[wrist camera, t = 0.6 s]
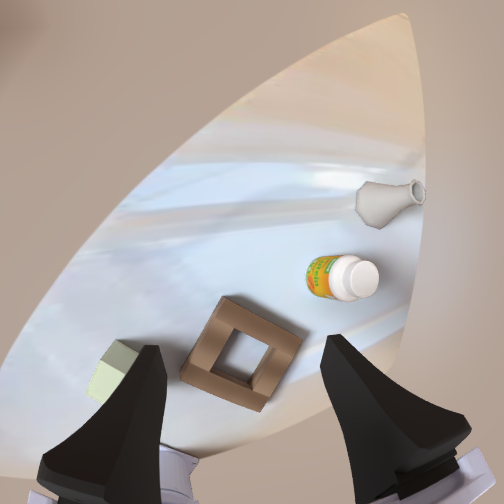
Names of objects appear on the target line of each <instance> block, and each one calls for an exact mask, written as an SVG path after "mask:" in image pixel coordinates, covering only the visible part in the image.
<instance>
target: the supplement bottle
mask: <svg viewBox="0 0 504 504" xmlns="http://www.w3.org/2000/svg"><path fill="white" fill-rule="evenodd" d="M378 283H379V274H378V270H377V268H376V266H375V265H374V264H373V263H371V262H370V261H365V260H361V259H360V258H359V257H357V256H353V255H341V256H325V257H318V258H316V259H314V260H313V261H311V262H310V264H309V265H308V266H307V268H306V271H305V284H306V286H307V288H308V290H309V291H310V292H311V293H312V294H314V295H316V296H318V297H323V298H328V299H333V300H339V301H344V302H352V301H355V300H357V299H359V298H367V297H369V296H371V295H372V294H373V293H374V292H375V291H376V289H377V287H378Z"/></svg>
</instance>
